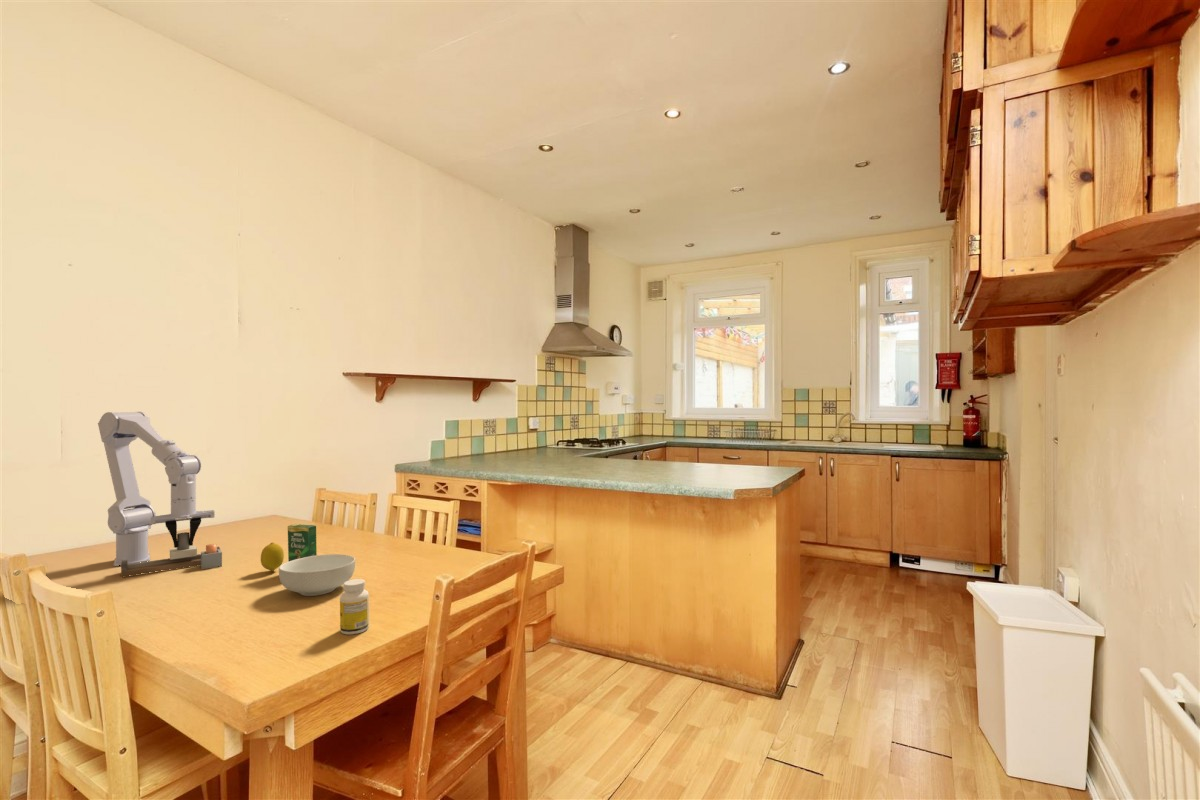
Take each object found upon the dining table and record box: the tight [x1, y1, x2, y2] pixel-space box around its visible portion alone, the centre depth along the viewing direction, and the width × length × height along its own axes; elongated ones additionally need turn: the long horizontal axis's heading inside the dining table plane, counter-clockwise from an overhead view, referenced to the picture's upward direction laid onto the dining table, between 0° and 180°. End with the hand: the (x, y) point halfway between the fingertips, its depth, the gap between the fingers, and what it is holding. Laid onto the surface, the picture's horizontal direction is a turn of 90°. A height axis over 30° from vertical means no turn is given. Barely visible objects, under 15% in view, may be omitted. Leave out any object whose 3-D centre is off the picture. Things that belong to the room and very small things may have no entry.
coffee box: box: [287, 523, 318, 562], centre depth 150 cm, size 8×3×13 cm, turn 68°
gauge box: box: [200, 548, 223, 570], centre depth 157 cm, size 5×5×4 cm
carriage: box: [169, 531, 198, 560], centre depth 158 cm, size 5×6×6 cm
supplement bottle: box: [339, 578, 370, 636], centre depth 112 cm, size 5×5×10 cm
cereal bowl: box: [278, 553, 356, 597], centre depth 136 cm, size 17×17×7 cm
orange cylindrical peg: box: [205, 543, 218, 554], centre depth 157 cm, size 2×2×4 cm
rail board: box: [120, 546, 221, 578], centre depth 156 cm, size 6×22×4 cm, turn 129°
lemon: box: [260, 542, 285, 572], centre depth 152 cm, size 6×6×8 cm
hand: (183, 546), depth 158 cm, fingers closed on carriage, 3 cm apart
